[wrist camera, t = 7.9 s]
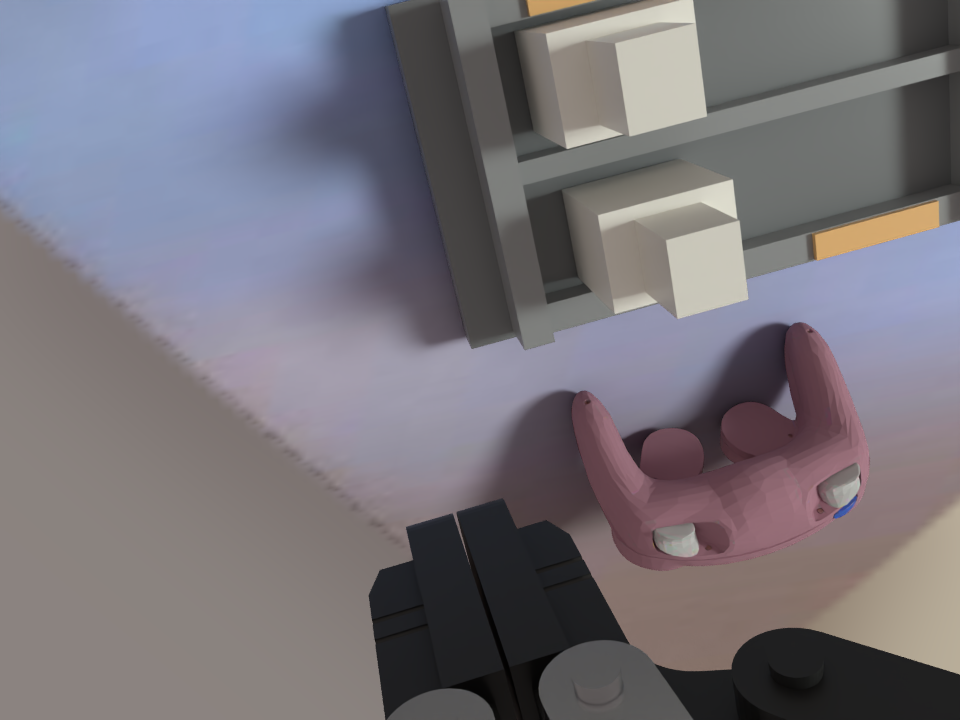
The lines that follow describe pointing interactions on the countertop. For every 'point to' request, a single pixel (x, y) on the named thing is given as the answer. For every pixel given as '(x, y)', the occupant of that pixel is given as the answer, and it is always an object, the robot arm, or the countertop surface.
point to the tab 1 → (613, 72)
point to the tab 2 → (659, 239)
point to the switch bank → (685, 141)
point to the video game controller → (732, 471)
